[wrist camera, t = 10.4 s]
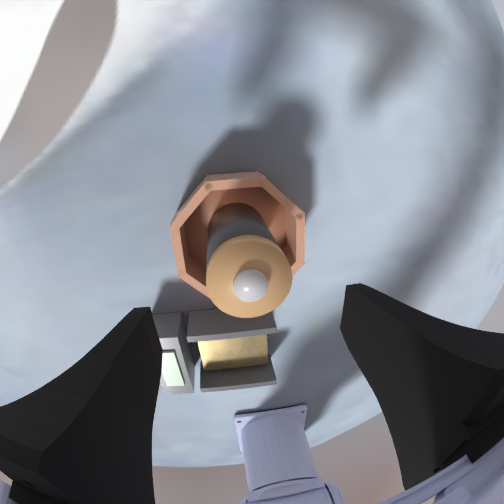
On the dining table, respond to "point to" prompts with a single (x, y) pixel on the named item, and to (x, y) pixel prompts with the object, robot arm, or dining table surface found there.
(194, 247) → the cup
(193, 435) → the dining table surface
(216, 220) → the cell
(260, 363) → the plunger
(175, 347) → the battery checker
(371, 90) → the dining table surface
